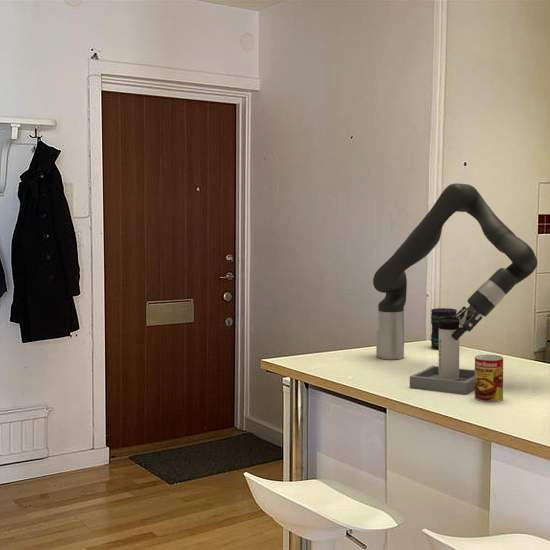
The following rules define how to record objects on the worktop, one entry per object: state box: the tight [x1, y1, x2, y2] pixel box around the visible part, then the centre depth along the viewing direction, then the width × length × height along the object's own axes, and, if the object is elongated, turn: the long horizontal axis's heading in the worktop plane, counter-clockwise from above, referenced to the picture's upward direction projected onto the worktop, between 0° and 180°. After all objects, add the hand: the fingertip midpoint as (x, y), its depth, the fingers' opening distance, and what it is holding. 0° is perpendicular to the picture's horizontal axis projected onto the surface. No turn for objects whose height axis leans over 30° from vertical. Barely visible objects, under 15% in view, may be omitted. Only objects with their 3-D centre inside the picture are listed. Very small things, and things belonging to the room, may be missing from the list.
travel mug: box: [438, 316, 460, 381], centre depth 245 cm, size 6×7×20 cm
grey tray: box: [409, 365, 475, 395], centre depth 245 cm, size 18×18×4 cm
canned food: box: [474, 354, 504, 403], centre depth 228 cm, size 8×8×12 cm
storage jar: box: [430, 307, 458, 351], centre depth 305 cm, size 10×10×15 cm
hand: (449, 335), depth 244 cm, fingers open, 8 cm apart
